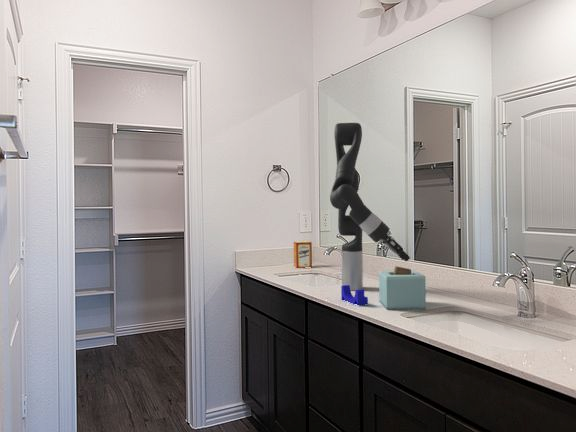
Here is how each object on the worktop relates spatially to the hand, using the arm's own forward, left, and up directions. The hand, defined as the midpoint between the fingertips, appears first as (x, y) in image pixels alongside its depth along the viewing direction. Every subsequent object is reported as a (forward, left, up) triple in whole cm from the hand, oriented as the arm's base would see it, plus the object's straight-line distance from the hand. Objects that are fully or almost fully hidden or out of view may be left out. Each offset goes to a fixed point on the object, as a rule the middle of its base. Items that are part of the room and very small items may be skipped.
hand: (406, 258), depth 169 cm
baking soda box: (-104, -37, -18) cm, 112 cm away
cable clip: (-6, -19, -18) cm, 27 cm away
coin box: (0, -2, -18) cm, 18 cm away
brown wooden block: (0, -3, -13) cm, 14 cm away
